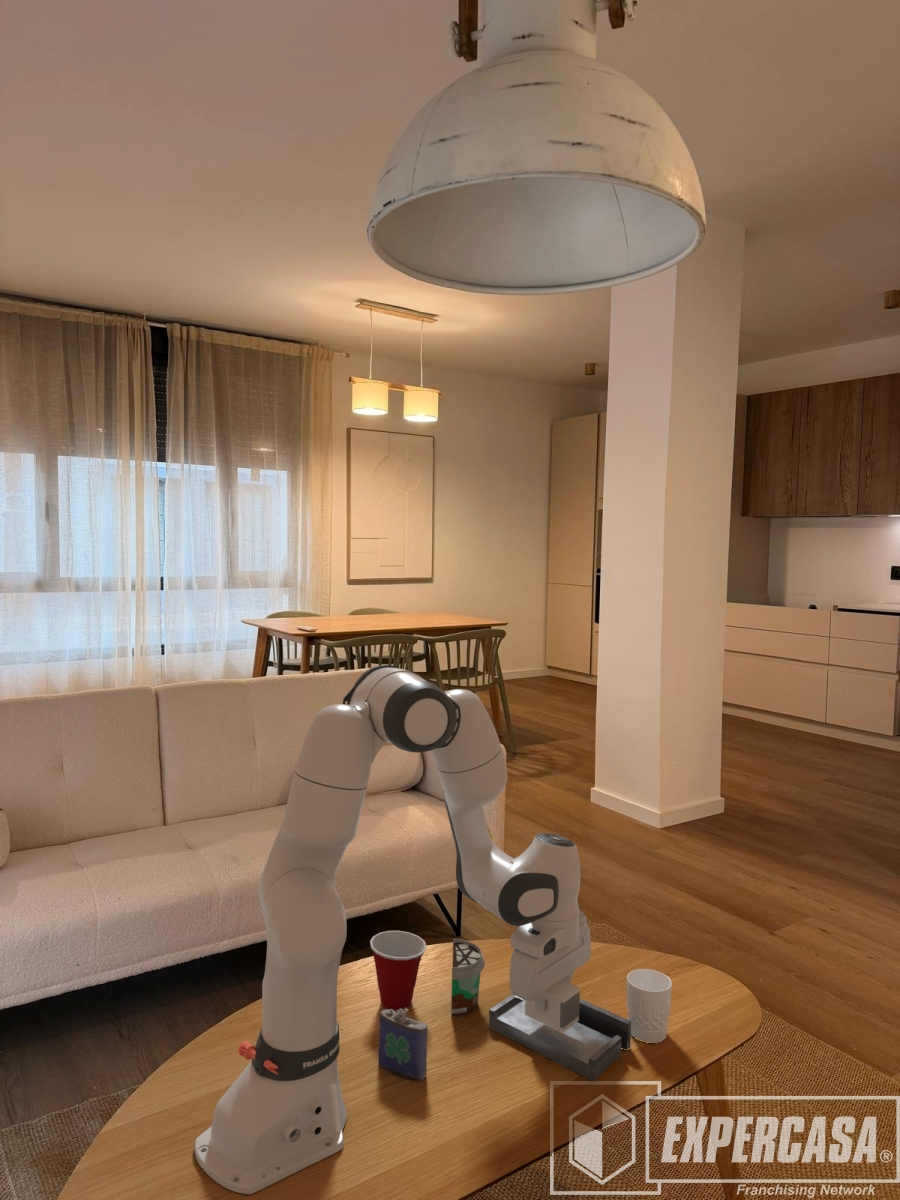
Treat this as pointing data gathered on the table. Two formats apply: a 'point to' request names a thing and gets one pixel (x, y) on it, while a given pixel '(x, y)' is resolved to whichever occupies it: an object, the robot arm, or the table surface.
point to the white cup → (648, 1004)
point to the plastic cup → (397, 966)
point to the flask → (403, 1045)
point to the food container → (465, 977)
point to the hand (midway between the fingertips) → (551, 1003)
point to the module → (558, 1006)
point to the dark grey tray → (566, 1036)
